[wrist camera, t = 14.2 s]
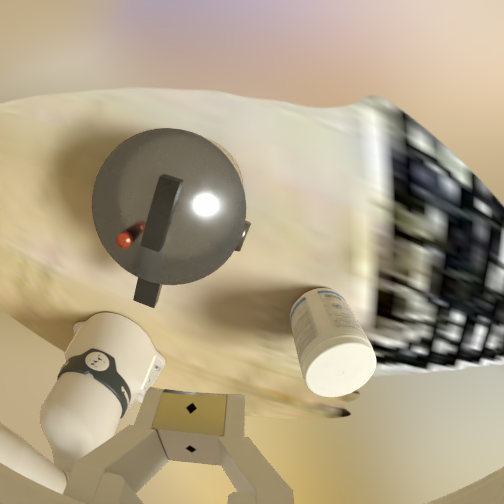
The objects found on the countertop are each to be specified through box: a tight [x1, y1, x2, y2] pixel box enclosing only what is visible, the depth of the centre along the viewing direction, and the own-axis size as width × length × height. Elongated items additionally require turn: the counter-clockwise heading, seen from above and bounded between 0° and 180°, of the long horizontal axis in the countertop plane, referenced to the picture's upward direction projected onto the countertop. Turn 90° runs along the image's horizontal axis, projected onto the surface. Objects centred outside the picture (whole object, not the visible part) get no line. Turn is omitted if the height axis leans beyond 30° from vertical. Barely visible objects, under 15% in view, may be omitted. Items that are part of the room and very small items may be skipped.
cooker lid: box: [92, 128, 251, 285], centre depth 28 cm, size 16×16×3 cm
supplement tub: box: [290, 288, 376, 397], centre depth 40 cm, size 10×10×15 cm
